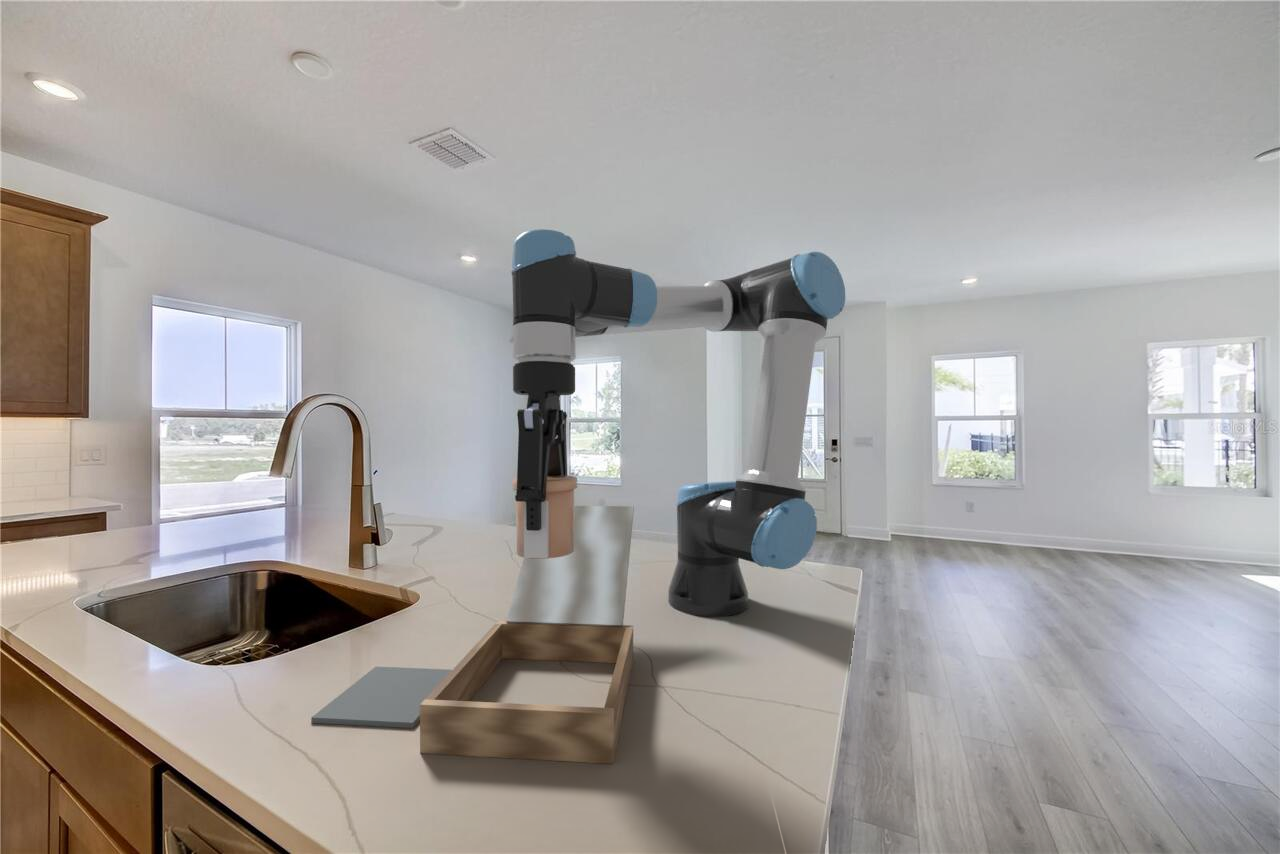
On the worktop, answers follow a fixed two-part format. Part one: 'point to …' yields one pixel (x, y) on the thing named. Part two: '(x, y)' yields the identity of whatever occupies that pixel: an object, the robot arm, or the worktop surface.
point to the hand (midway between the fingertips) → (545, 548)
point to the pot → (553, 516)
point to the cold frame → (547, 654)
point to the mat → (383, 698)
